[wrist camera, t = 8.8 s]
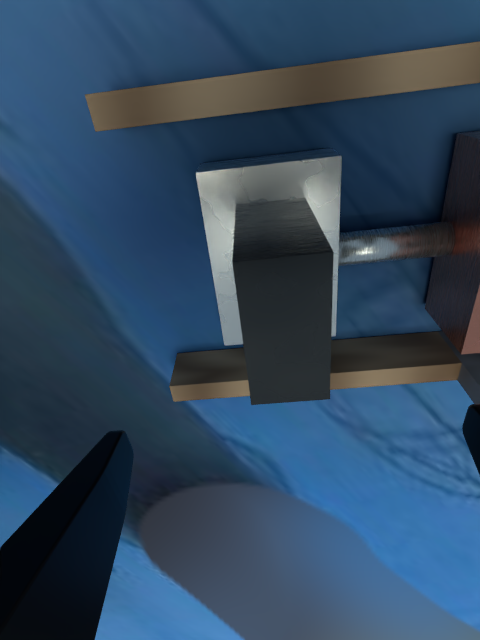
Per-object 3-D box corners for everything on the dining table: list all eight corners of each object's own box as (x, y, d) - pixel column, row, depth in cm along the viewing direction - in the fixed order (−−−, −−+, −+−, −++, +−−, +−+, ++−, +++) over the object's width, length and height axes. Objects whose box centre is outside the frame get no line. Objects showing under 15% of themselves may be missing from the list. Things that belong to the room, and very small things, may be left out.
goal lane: (180, 367, 24) (164, 443, 19) (109, 91, 16) (48, 98, 11) (580, 335, 23) (676, 408, 18) (733, 8, 14) (1001, -30, 9)
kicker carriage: (225, 325, 22) (218, 433, 15) (200, 163, 17) (172, 218, 10) (453, 305, 21) (550, 410, 14) (493, 128, 16) (669, 164, 10)
